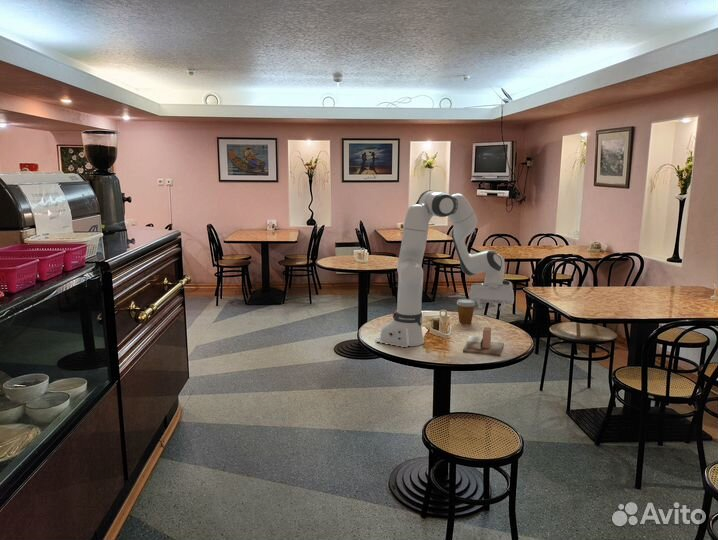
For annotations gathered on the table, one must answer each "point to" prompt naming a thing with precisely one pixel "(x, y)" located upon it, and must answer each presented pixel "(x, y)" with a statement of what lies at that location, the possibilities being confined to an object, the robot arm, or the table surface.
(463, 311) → the disposable coffee cup
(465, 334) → the table surface
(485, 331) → the terracotta tab
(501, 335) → the table surface
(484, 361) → the table surface
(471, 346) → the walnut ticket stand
